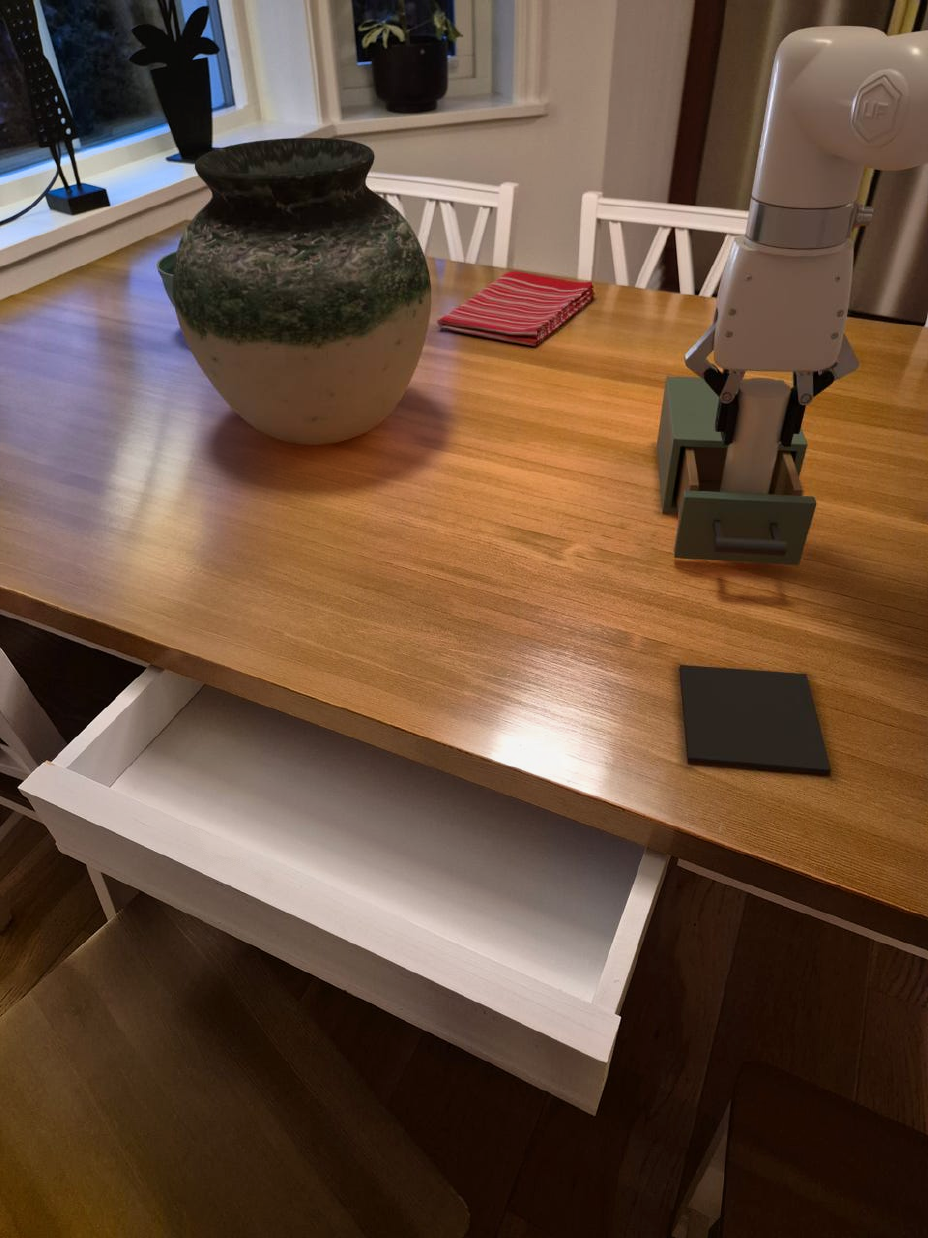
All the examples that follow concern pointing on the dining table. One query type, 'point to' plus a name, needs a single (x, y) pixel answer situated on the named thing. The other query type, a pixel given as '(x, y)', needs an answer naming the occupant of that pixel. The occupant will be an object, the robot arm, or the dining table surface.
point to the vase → (301, 289)
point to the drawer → (739, 512)
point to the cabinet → (695, 431)
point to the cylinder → (755, 436)
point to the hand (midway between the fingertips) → (754, 437)
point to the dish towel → (519, 308)
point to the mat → (751, 720)
